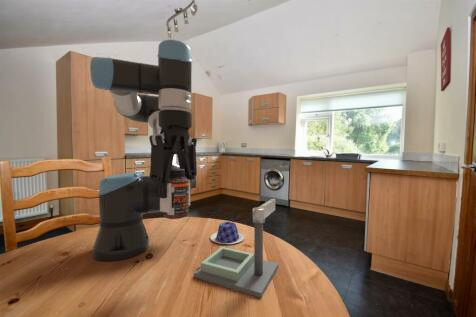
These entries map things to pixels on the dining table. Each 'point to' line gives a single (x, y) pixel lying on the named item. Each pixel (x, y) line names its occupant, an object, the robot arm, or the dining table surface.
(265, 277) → the socket base
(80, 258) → the dining table surface
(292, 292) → the dining table surface
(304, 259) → the dining table surface
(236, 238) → the pudding
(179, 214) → the supplement bottle
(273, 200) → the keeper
